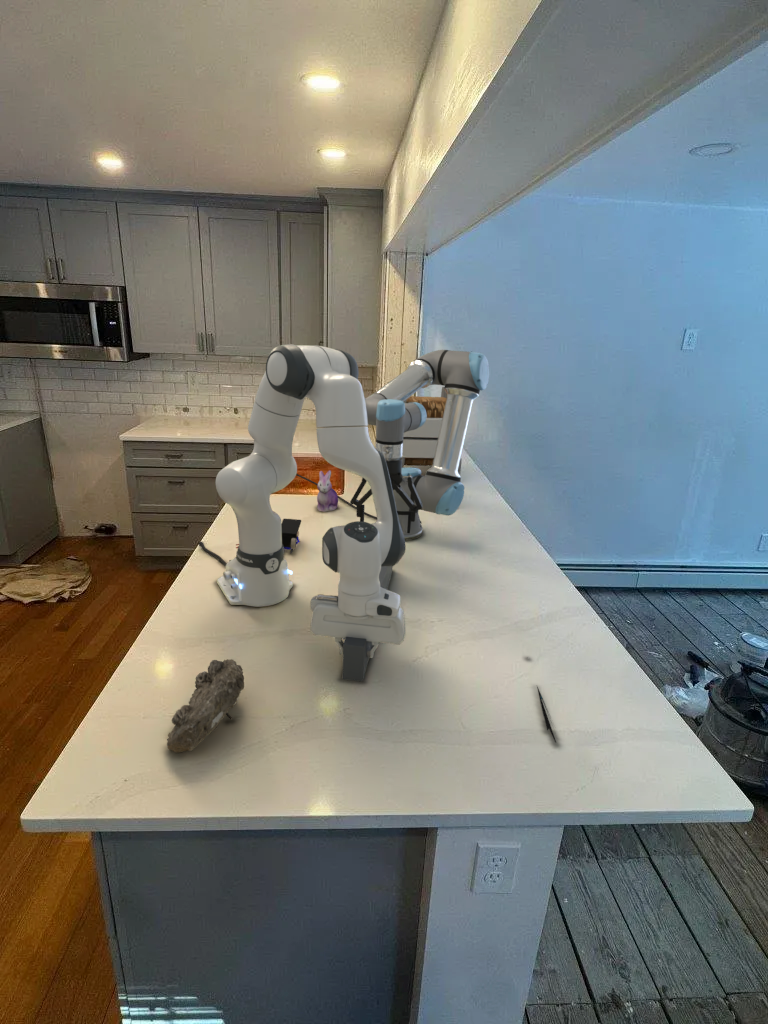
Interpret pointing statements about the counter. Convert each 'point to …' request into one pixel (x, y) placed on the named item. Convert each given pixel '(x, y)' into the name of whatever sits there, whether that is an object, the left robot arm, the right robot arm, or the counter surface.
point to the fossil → (206, 705)
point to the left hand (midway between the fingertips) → (357, 654)
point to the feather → (545, 714)
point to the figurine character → (290, 533)
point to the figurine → (326, 493)
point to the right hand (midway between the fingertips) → (385, 529)
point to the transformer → (425, 433)
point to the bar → (360, 642)
